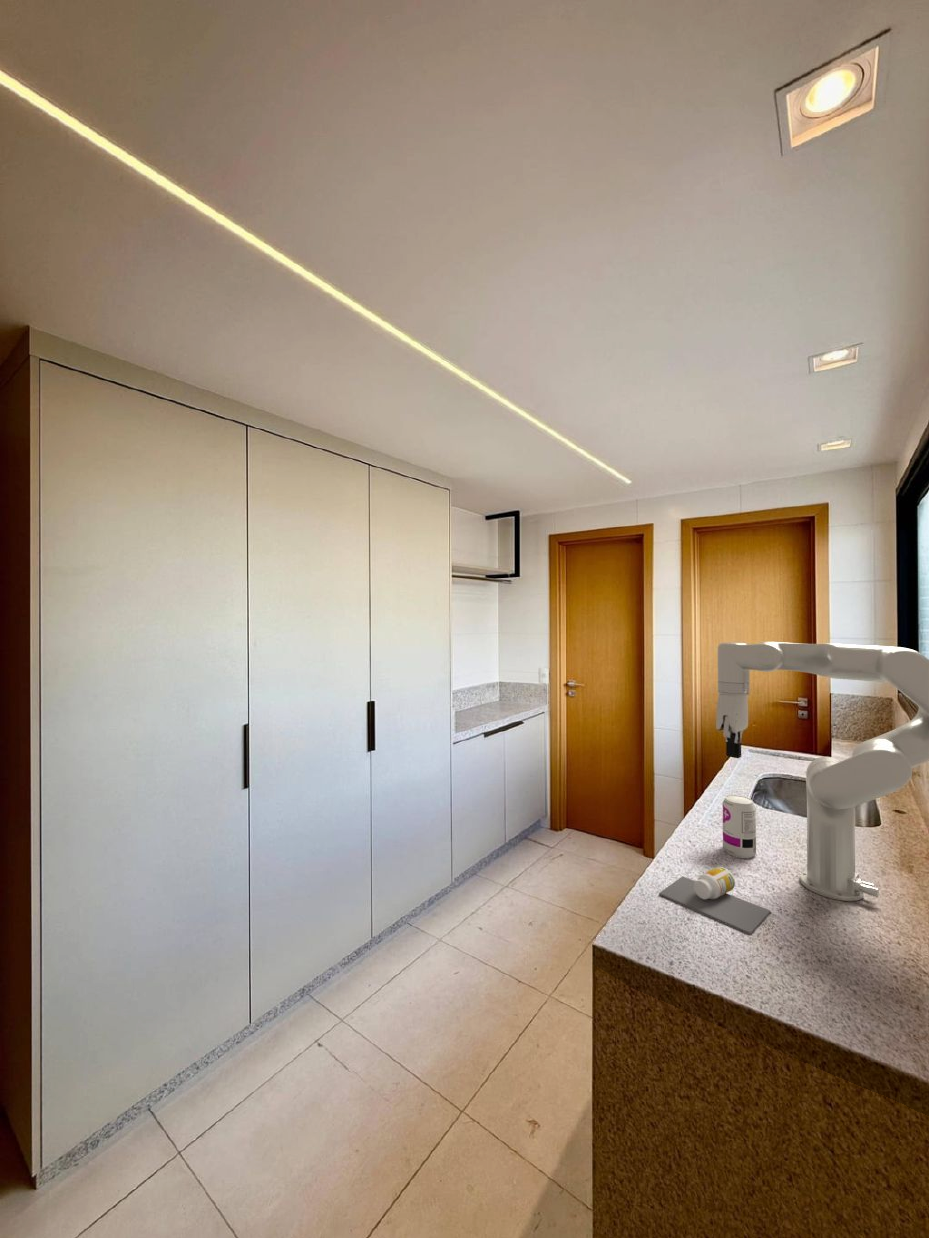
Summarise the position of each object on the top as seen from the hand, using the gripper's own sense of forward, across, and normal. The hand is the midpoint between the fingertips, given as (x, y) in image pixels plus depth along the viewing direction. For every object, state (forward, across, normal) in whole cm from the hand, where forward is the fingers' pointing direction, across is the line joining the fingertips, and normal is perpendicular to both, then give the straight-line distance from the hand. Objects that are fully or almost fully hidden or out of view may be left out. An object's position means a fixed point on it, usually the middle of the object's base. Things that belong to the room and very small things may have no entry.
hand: (733, 756), depth 133 cm
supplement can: (+29, -9, -2) cm, 31 cm away
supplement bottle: (+26, +15, +4) cm, 30 cm away
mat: (+29, +23, +4) cm, 37 cm away
